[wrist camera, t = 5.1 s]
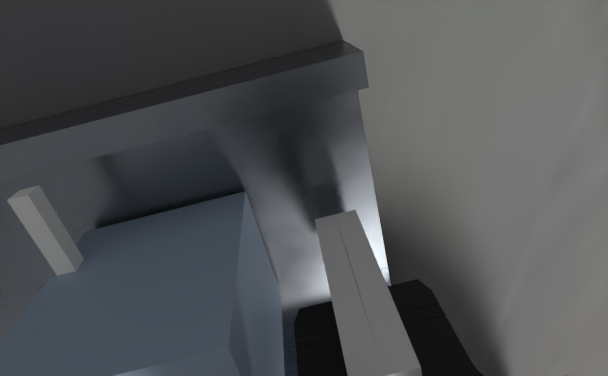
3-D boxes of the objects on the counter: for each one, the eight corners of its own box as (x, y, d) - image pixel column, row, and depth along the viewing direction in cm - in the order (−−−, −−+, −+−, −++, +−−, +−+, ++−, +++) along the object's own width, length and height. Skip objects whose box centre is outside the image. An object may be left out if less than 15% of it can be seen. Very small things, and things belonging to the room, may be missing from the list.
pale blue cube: (142, 328, 16) (67, 532, 10) (47, 165, 13) (-156, 321, 7) (280, 294, 16) (289, 480, 10) (220, 120, 13) (177, 238, 7)
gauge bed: (-34, 417, 20) (-241, 707, 12) (-260, 194, 14) (-985, 467, 6) (392, 315, 19) (483, 547, 11) (343, 37, 13) (459, 101, 5)
